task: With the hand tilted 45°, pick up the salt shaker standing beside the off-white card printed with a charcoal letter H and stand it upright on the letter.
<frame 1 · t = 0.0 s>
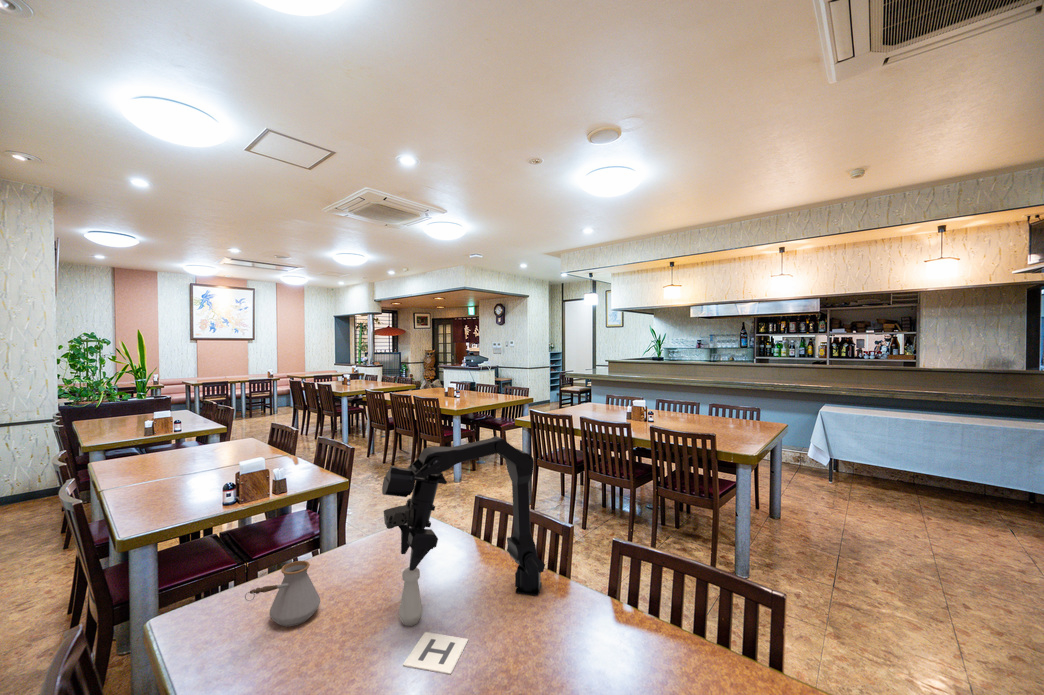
hand: (407, 561, 108), 15 cm above the table, tool pointing down, fingers open, 9 cm apart
salt shaker: (410, 621, 109), on the table
letter card: (437, 652, 98), on the table
coffee pot: (281, 630, 105), on the table
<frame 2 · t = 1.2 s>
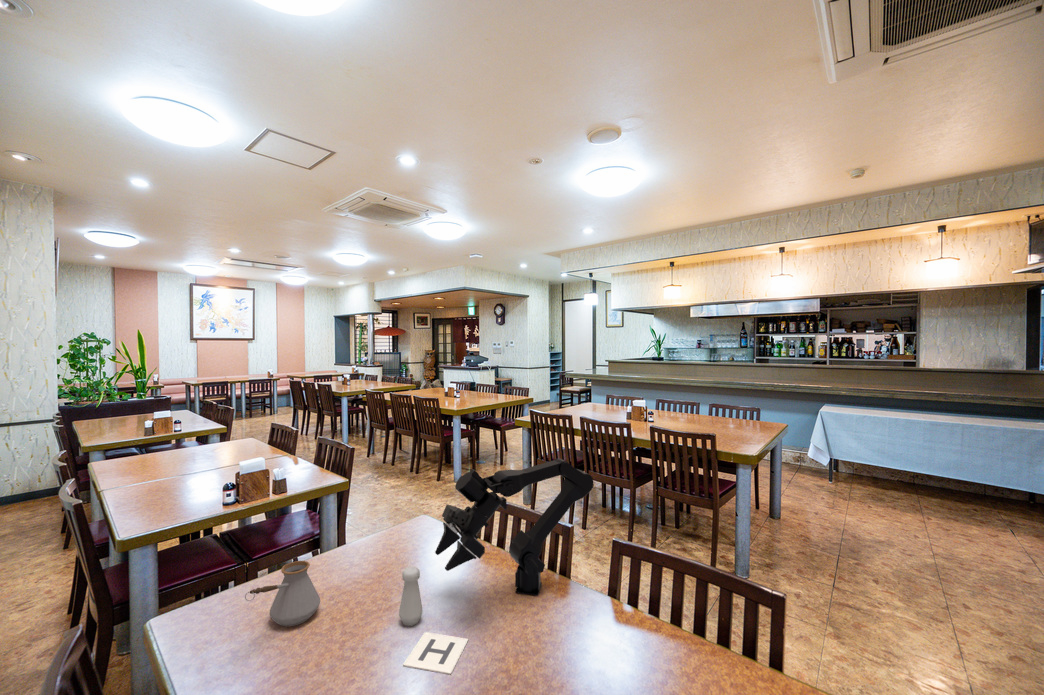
hand: (441, 561, 112), 13 cm above the table, tool tilted 45°, fingers open, 9 cm apart
nothing on the table moved.
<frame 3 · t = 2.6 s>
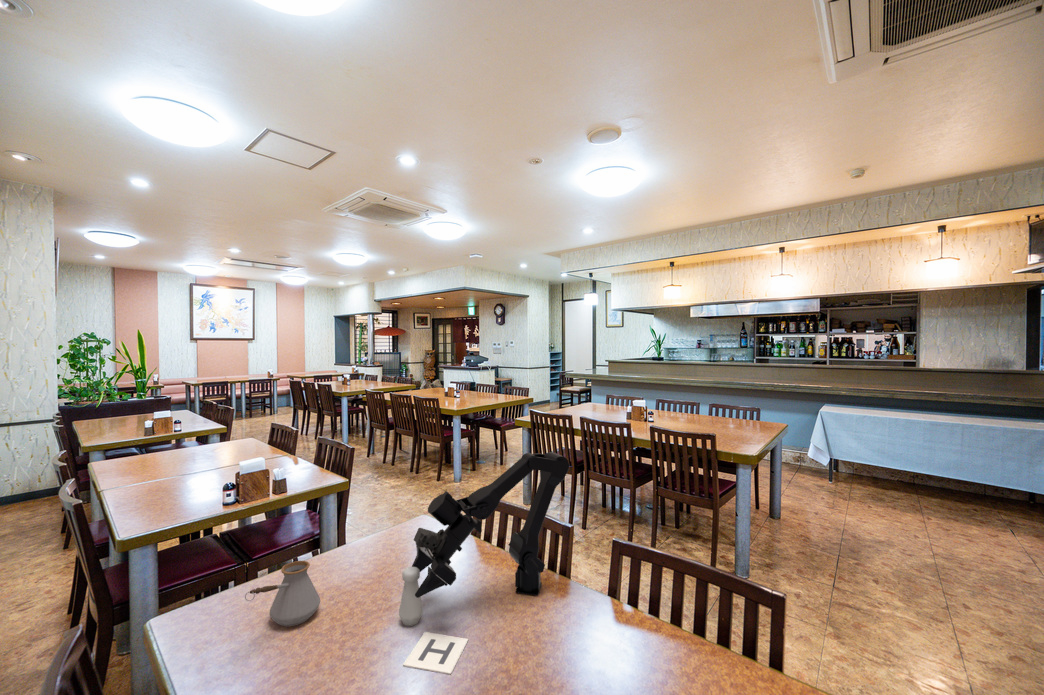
hand: (411, 587, 109), 8 cm above the table, tool tilted 45°, fingers open, 9 cm apart
nothing on the table moved.
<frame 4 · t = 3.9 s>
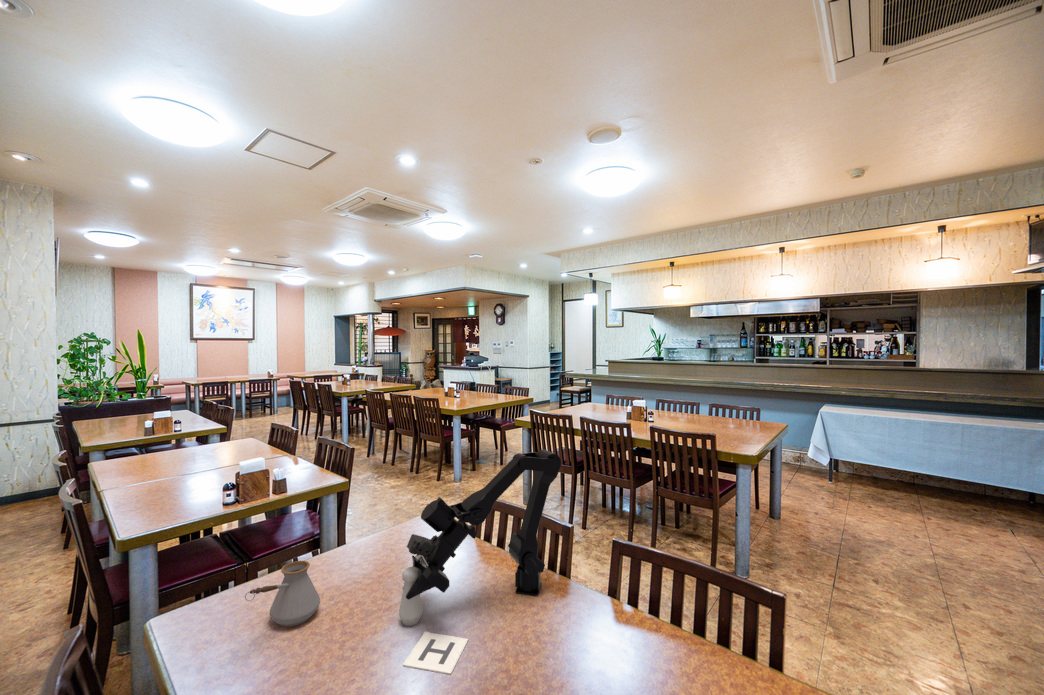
hand: (405, 594, 108), 7 cm above the table, tool tilted 45°, fingers closed on salt shaker, 3 cm apart
salt shaker: (410, 621, 109), on the table, touching gripper
everything else where it was.
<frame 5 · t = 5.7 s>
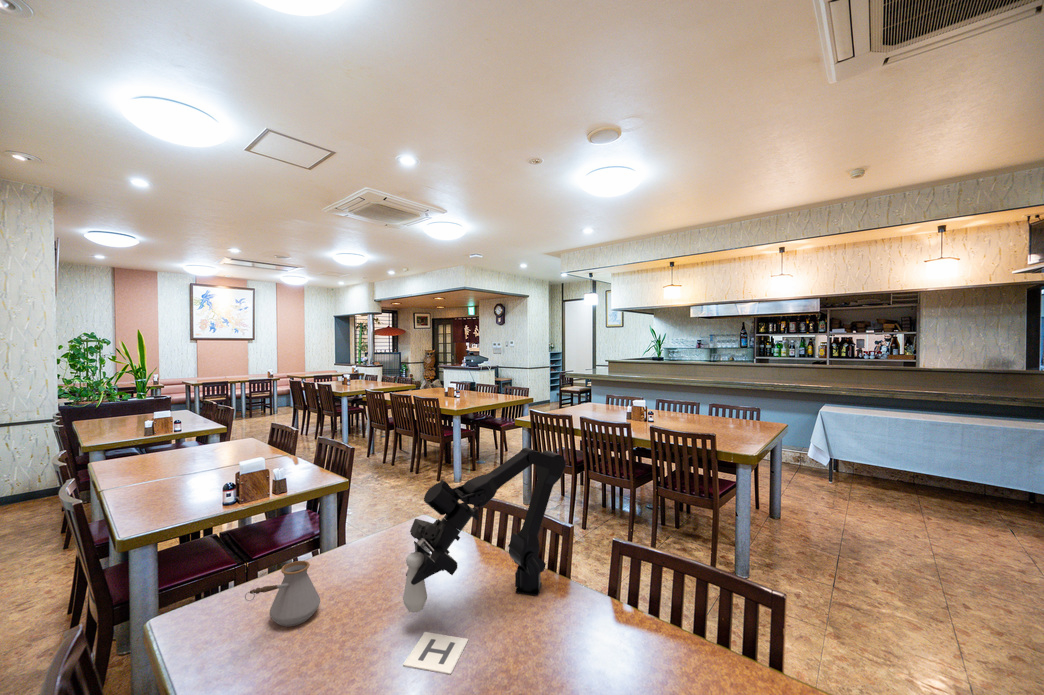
hand: (409, 580, 105), 12 cm above the table, tool tilted 45°, fingers closed on salt shaker, 3 cm apart
salt shaker: (415, 608, 106), point 5 cm above the table, touching gripper
everything else where it was.
when the fingers open (9 cm above the table, at t = 7.7 s): salt shaker drops 1 cm, resting on letter card.
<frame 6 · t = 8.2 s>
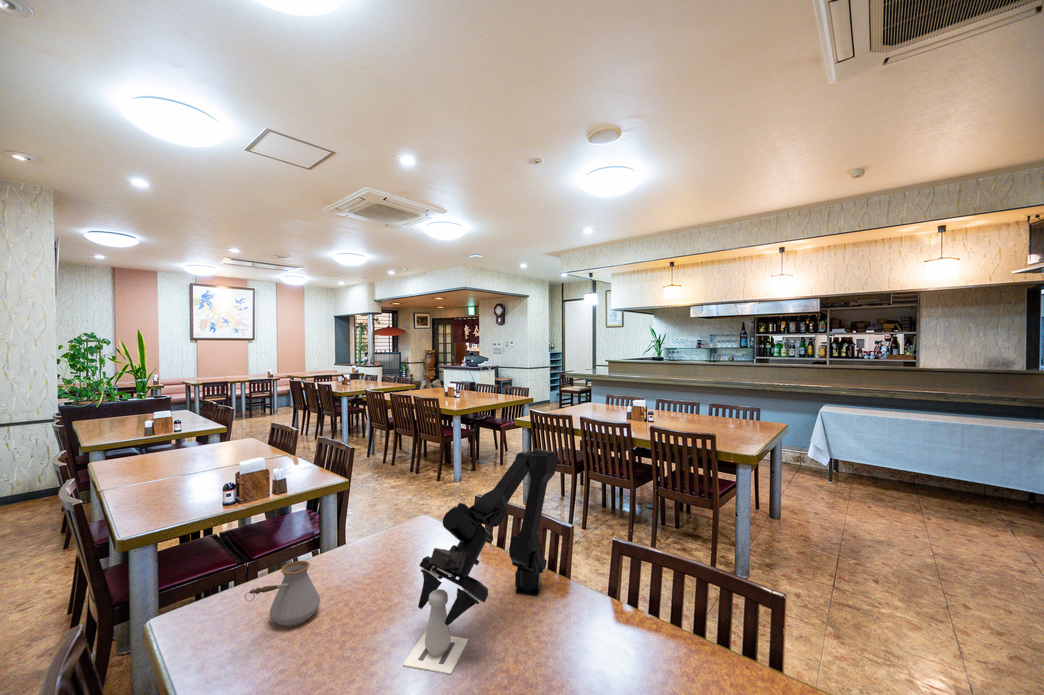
hand: (432, 616, 97), 9 cm above the table, tool tilted 45°, fingers open, 9 cm apart
salt shaker: (437, 651, 98), resting on letter card
everything else where it was.
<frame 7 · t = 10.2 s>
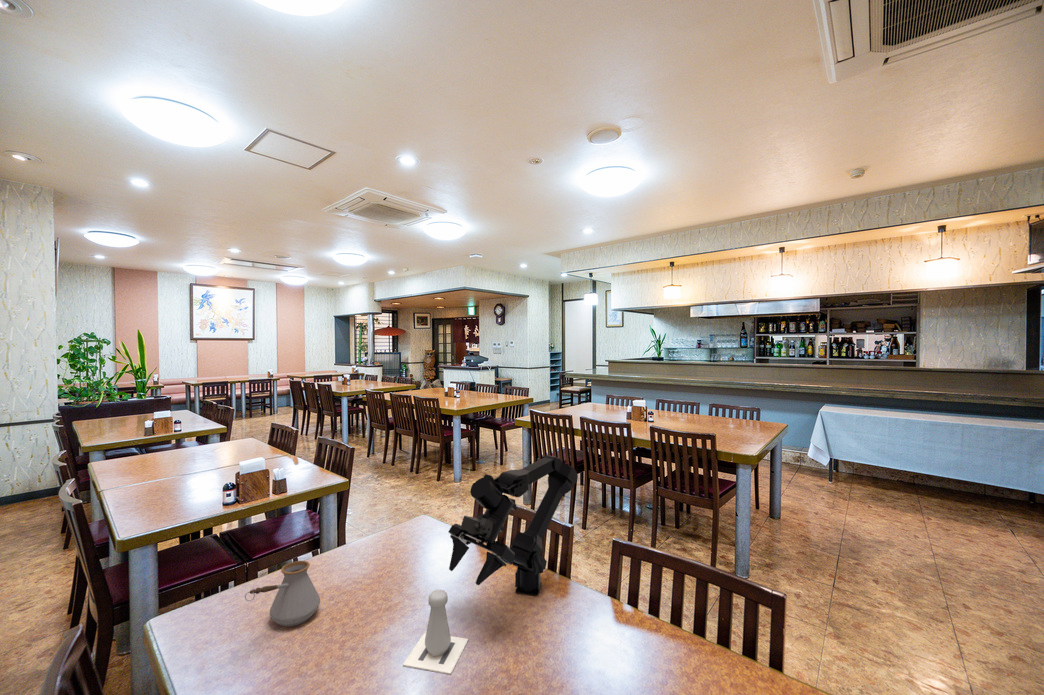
hand: (463, 577, 105), 13 cm above the table, tool tilted 45°, fingers open, 9 cm apart
nothing on the table moved.
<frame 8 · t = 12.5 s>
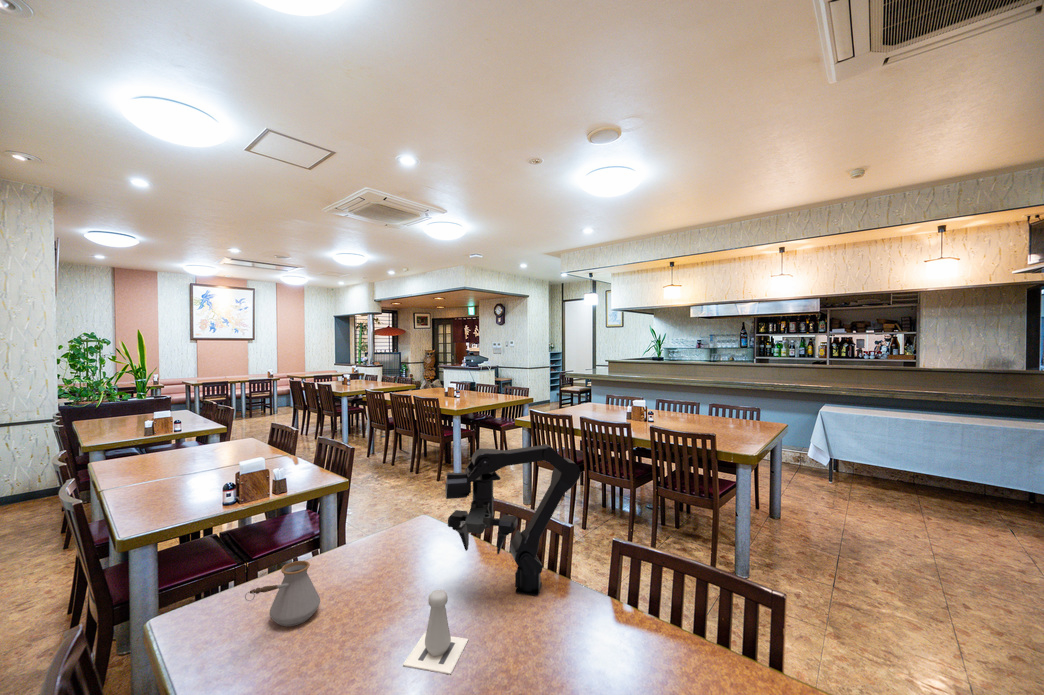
hand: (482, 551, 120), 12 cm above the table, tool pointing down, fingers open, 9 cm apart
nothing on the table moved.
at the end: salt shaker 0.2 cm from the letter card (horizontally); salt shaker tilted 0°; salt shaker touching letter card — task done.
